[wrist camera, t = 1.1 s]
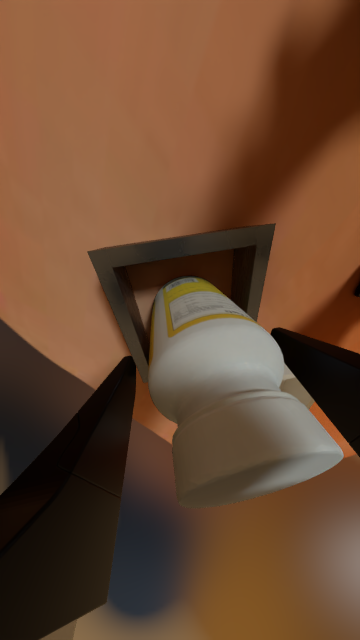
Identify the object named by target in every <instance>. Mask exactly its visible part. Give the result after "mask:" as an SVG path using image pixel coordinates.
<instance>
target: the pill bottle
mask: <svg viewBox="0 0 360 640" xmlns="http://www.w3.org/2000/svg"><path fill="white" fill-rule="evenodd" d="M283 375H284V359H283V355H282V352H281V349H280V347H279V346H278V344H277V342H276V341H275V340H274V338H273V337H272V336H271V335H270V334H269V333H268V332H267V331H266V330H265V329H264V328H263V327H261V326H260V325H259V324H258V323H257V322H256V321H254V320H253V319H252V318H251V317H250V316H249V315H247V314H246V313H245V312H244V311H243V310H242V309H240V308H239V307H238V306H237V305H236V304H235V303H233V302H232V301H231V300H230V299H229V298H228V297H227V296H225V295H224V294H223V293H222V292H221V291H219V290H218V289H217V288H216V287H215V286H214V285H212V284H211V283H210V282H209V281H207V280H205V279H203V278H200V277H196V276H183V277H178V278H176V279H173V280H171V281H170V282H168V283H167V284H165V285H164V286H163V287H162V288H161V289H160V290H159V292H158V293H157V295H156V297H155V299H154V303H153V308H152V321H151V335H150V352H149V370H148V387H149V392H150V396H151V398H152V401H153V403H154V405H155V406H156V407H157V409H158V410H159V411H160V412H161V413H162V414H163V415H164V416H165V417H166V418H168V419H169V420H171V421H173V422H175V423H177V424H178V428H177V429H176V431H175V433H174V435H173V439H172V444H173V448H172V454H173V462H174V473H175V483H176V494H177V499H178V503H179V504H180V505H181V506H183V507H186V508H204V507H214V506H221V505H226V504H231V503H236V502H240V501H244V500H248V499H252V498H255V497H259V496H263V495H266V494H269V493H272V492H275V491H278V490H281V489H284V488H287V487H290V486H293V485H295V484H298V483H300V482H303V481H306V480H308V479H310V478H312V477H314V476H316V475H319V474H321V473H323V472H325V471H327V470H328V469H330V468H331V467H333V466H335V465H336V464H337V463H339V462H340V461H341V460H342V458H343V456H344V455H343V452H342V450H341V448H340V447H339V446H338V444H337V443H336V442H335V441H334V440H333V438H332V437H331V436H330V435H329V434H328V432H327V431H326V430H325V429H324V427H323V426H322V425H321V424H320V423H319V422H318V420H317V419H316V418H315V417H314V416H313V415H312V413H311V412H310V411H309V410H308V408H307V407H306V406H305V405H304V404H303V403H301V402H300V401H299V400H298V399H297V398H296V397H294V396H292V395H291V394H289V393H286V392H282V391H281V390H280V388H279V387H280V385H281V382H282V379H283Z"/></svg>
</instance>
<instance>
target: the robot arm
mask: <svg viewBox="0 0 360 640" xmlns="http://www.w3.org/2000/svg"><path fill="white" fill-rule="evenodd" d="M355 296H357V297H360V285H359V287H358V288H357V290H356V292H355ZM271 336H272V337H273V338H274V340H275V341H276V342H277V344H278V346H279V347H280V349H281V352H282V355H283V359H284V363H285V365H286V366H287V367H288V368H289V370H290V371H291V372H292V373H293V375H294V376H295V377H296V378H297V380H298V381H299V382H300V383H301V385H302V386H303V387H304V388H305V390H306V391H307V392H308V393H309V395H310V396H311V397H312V398H313V400H314V401H315V402H316V403H317V404H318V406H319V407H320V408H321V409H322V411H323V412H324V413H325V414H326V416H327V417H328V418H329V419H330V421H331V422H332V423H333V424H334V426H335V427H336V428H337V429H338V431H339V432H340V433H341V434H342V436H343V437H344V438H345V439H346V441H347V442H348V443H349V445H350V446H351V447H352V448H353V450H354V451H355V452H356V453H357V455H358V456H359V457H360V354H359V353H356V352H353V351H350V350H347V349H344V348H341V347H338V346H335V345H331V344H328V343H325V342H322V341H319V340H316V339H313V338H310V337H307V336H304V335H301V334H298V333H295V332H292V331H289V330H286V329H283V328H280V327H278V328H273V329H272V331H271ZM135 392H136V364H135V362H134V360H133V357H132V356H125V357H124V358H123V359H122V360H121V361H120V363H119V364H118V365H117V366H116V367H115V368H114V370H113V371H112V372H111V373H110V374H109V375H108V377H107V378H106V379H105V380H104V381H103V383H102V384H101V385H100V386H99V387H98V388H97V390H96V391H95V392H94V393H93V394H92V396H91V397H90V398H89V399H88V400H87V402H86V403H85V404H84V405H83V406H82V407H81V409H80V410H79V411H78V413H76V414H75V416H74V417H73V418H72V419H71V420H70V422H69V423H68V424H67V425H66V426H65V427H64V428H63V429H62V431H61V432H60V433H59V434H58V435H57V436H56V437H55V438H54V439H53V441H52V442H51V443H50V444H49V445H48V446H47V447H46V448H45V449H44V450H43V451H42V452H41V453H40V454H39V455H38V456H37V458H36V459H35V460H34V461H33V462H32V463H31V464H30V465H29V466H28V467H27V468H26V469H25V470H24V471H23V472H22V473H21V474H20V476H18V478H17V479H16V480H15V481H14V482H13V483H12V484H11V485H10V486H9V487H8V488H7V489H6V490H5V491H4V492H3V493H2V494H1V495H0V640H73V635H74V630H75V626H76V621H77V619H78V618H80V617H82V616H84V615H85V614H87V613H89V612H91V611H93V610H94V609H96V608H98V607H100V606H102V605H104V604H105V603H106V602H107V596H108V590H109V582H110V575H111V568H112V561H113V553H114V546H115V539H116V532H117V524H118V517H119V510H120V503H121V495H122V487H123V479H124V473H125V465H126V458H127V451H128V443H129V437H130V429H131V422H132V415H133V408H134V401H135Z"/></svg>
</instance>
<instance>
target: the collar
mask: <svg viewBox="0 0 360 640" xmlns="http://www.w3.org/2000/svg"><path fill="white" fill-rule="evenodd" d="M275 224H276V223H275ZM275 224H265V225H254V226H246V227H239V228H232V229H225V230H219V231H212V232H205V233H199V234H192V235H185V236H179V237H172V238H165V239H159V240H152V241H145V242H139V243H132V244H125V245H119V246H112V247H105V248H101V249H97V250H92V251H88V255H89V257H90V259H91V262H92V264H93V266H94V269H95V271H96V273H97V276H98V278H99V280H100V282H101V285H102V287H103V289H104V292H105V294H106V296H107V299H108V301H109V303H110V306H111V308H112V310H113V313H114V315H115V317H116V320H117V322H118V324H119V327H120V329H121V331H122V334H123V336H124V338H125V341H126V343H127V345H128V348H129V350H130V352H131V355H132V357H133V359H134V362H135V364H136V366H137V368H138V371H139V373H140V375H141V378H142V380H143V382H144V383H146V382H148V370H149V352H150V344H149V341H148V338H147V335H146V331H145V328H144V325H143V322H142V319H141V316H140V313H139V309H138V306H137V303H136V300H135V297H134V294H133V291H132V287H131V284H130V281H129V278H128V275H127V272H126V269H125V266H126V265H132V264H138V263H145V262H151V261H157V260H164V259H170V258H177V257H183V256H189V255H196V254H202V253H208V252H215V251H221V250H227V249H234V258H233V272H232V286H231V301H232V302H233V303H235V304H236V305H237V306H238V307H239V308H240V309H242V310H243V311H244V312H245V313H246V314H247V315H249V316H250V317H251V318H252V319H253V320H254V321H256V322H257V317H258V312H259V307H260V301H261V296H262V291H263V286H264V281H265V276H266V271H267V266H268V260H269V255H270V250H271V245H272V240H273V235H274V230H275Z"/></svg>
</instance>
